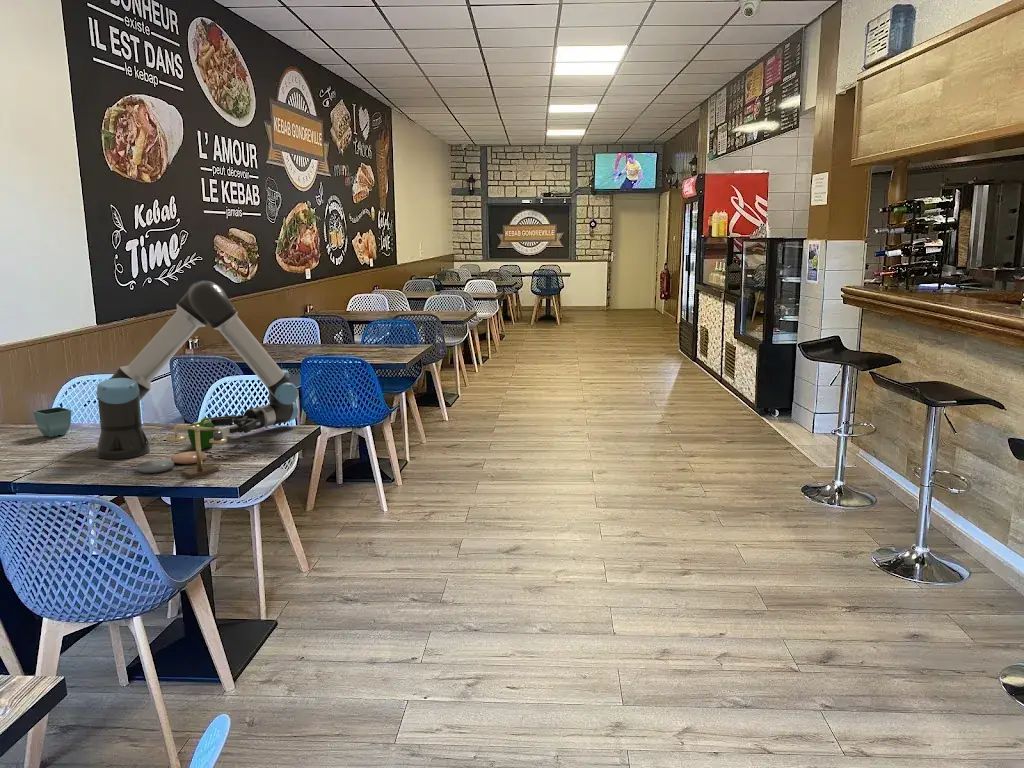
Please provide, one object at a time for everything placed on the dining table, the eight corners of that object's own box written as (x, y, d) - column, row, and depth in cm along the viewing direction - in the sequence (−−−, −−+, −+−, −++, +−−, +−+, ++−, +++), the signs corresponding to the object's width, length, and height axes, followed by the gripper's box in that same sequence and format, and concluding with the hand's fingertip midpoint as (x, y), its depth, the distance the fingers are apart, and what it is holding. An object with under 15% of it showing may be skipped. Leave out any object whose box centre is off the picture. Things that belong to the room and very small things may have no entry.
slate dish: (130, 471, 220) (129, 465, 219) (161, 462, 228) (161, 457, 228) (150, 476, 214) (149, 471, 214) (181, 468, 223) (181, 463, 222)
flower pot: (74, 434, 262) (72, 409, 260) (48, 439, 254) (45, 414, 253) (61, 431, 266) (58, 406, 265) (35, 436, 259) (32, 411, 257)
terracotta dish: (164, 462, 229) (164, 457, 228) (193, 454, 237) (192, 449, 237) (184, 467, 224) (184, 462, 223) (213, 459, 232) (212, 454, 232)
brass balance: (166, 479, 212) (161, 425, 209) (221, 464, 227) (218, 413, 224) (176, 482, 209) (172, 428, 206) (232, 466, 224) (229, 415, 222)
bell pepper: (184, 450, 242) (182, 420, 240) (195, 444, 250) (193, 415, 248) (209, 451, 241) (207, 421, 240) (220, 444, 249) (218, 415, 248)
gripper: (283, 432, 257) (232, 446, 240) (236, 423, 270) (184, 435, 253) (282, 411, 256) (230, 423, 238) (235, 403, 269) (182, 414, 251)
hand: (206, 429), depth 245 cm, fingers open, 13 cm apart
